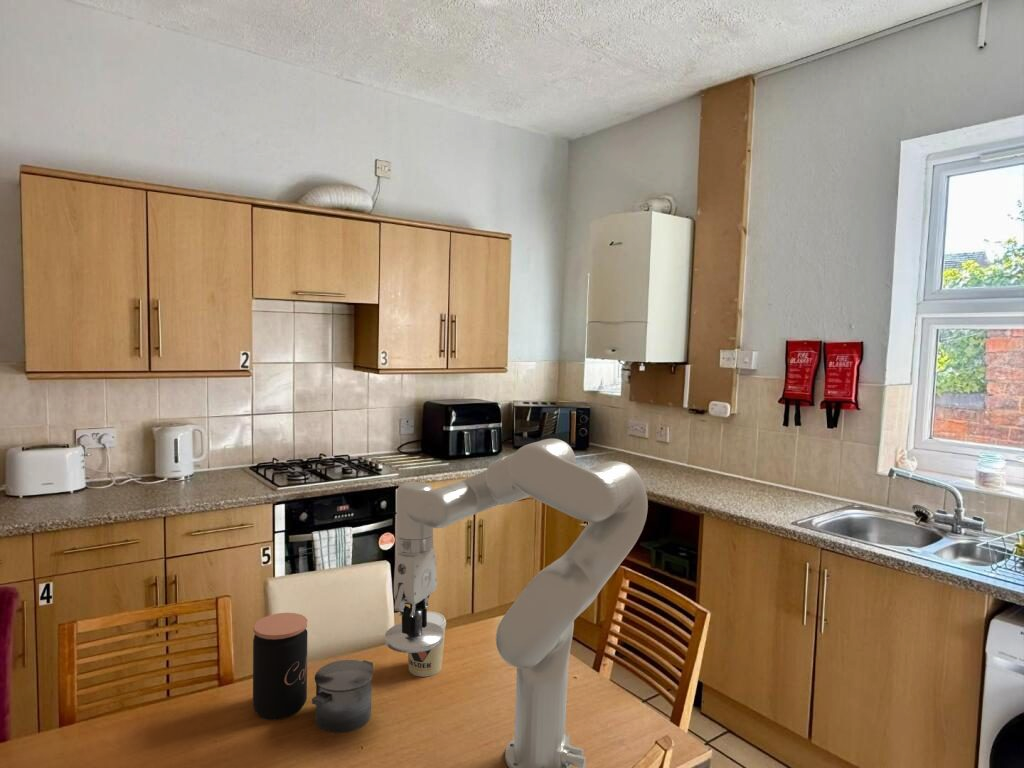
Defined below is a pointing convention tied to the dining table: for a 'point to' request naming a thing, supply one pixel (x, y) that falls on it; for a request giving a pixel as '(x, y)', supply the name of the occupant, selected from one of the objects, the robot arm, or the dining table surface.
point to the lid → (414, 637)
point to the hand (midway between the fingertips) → (414, 629)
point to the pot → (343, 695)
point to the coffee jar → (279, 665)
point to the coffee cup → (428, 652)
